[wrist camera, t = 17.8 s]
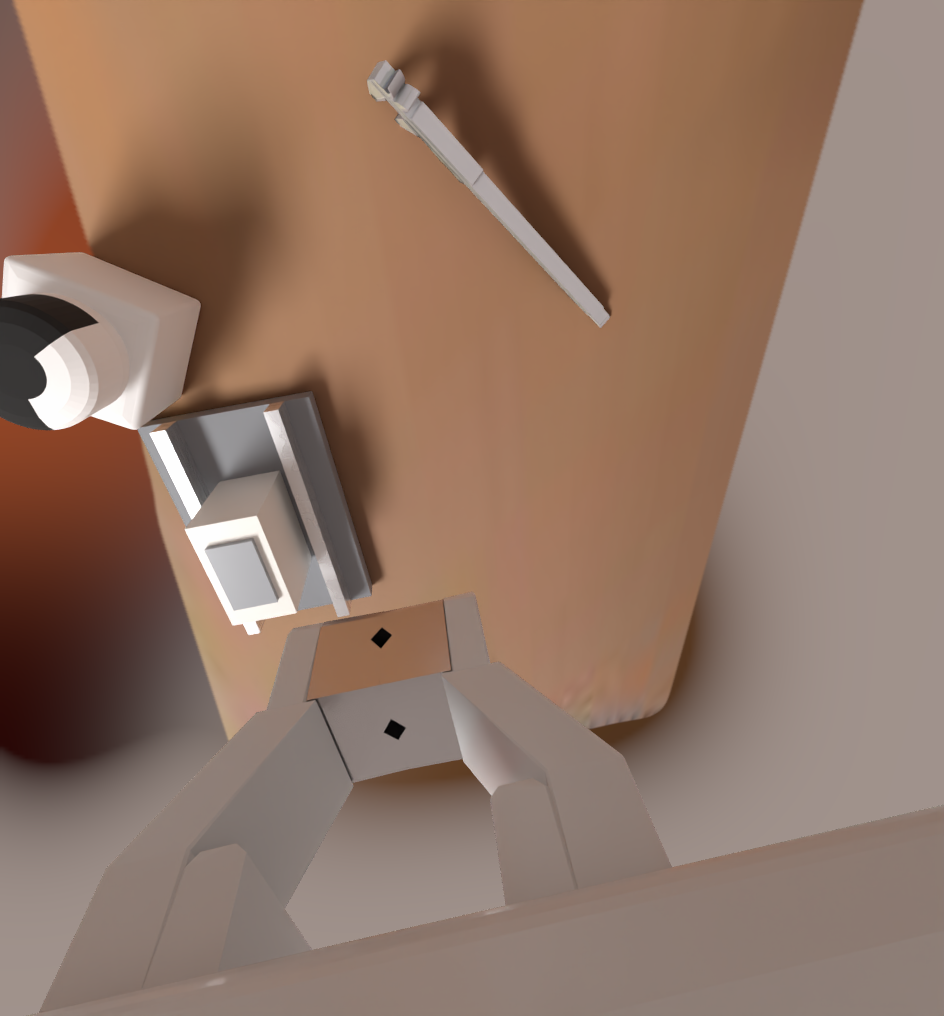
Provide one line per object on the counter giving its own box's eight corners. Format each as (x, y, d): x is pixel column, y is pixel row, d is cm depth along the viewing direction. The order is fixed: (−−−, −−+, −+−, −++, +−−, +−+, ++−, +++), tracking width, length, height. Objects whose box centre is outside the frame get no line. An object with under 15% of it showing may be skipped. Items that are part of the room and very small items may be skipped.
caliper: (369, 96, 30) (362, 64, 24) (379, 79, 29) (375, 42, 24) (598, 327, 38) (632, 342, 32) (609, 315, 37) (645, 328, 32)
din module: (219, 481, 38) (182, 532, 31) (279, 470, 38) (255, 518, 31) (257, 568, 41) (231, 629, 35) (311, 557, 42) (295, 616, 35)
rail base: (146, 421, 36) (136, 428, 35) (311, 390, 37) (308, 396, 35) (239, 611, 45) (234, 623, 44) (372, 585, 45) (371, 595, 44)
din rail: (162, 423, 35) (149, 433, 33) (284, 401, 35) (278, 409, 34) (254, 619, 44) (248, 635, 42) (351, 599, 44) (349, 614, 42)
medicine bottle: (67, 358, 34) (-82, 413, 23) (80, 249, 31) (-82, 256, 21) (182, 399, 36) (93, 466, 25) (203, 300, 33) (113, 330, 23)
